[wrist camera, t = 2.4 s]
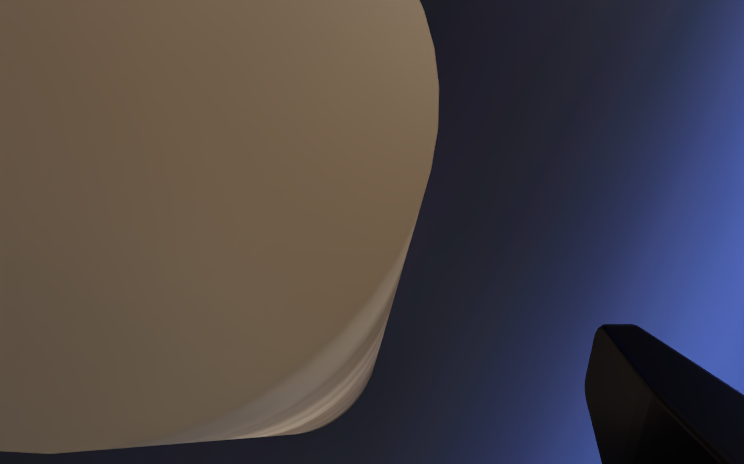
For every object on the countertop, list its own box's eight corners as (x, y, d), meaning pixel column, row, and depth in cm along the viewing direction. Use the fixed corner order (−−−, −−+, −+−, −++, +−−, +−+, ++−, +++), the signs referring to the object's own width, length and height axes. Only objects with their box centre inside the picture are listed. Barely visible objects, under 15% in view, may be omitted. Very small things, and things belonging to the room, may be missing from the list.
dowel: (337, 463, 16) (267, 586, 3) (170, 393, 16) (-435, 275, 4) (402, 295, 17) (528, -66, 5) (246, 233, 17) (-28, -255, 5)
